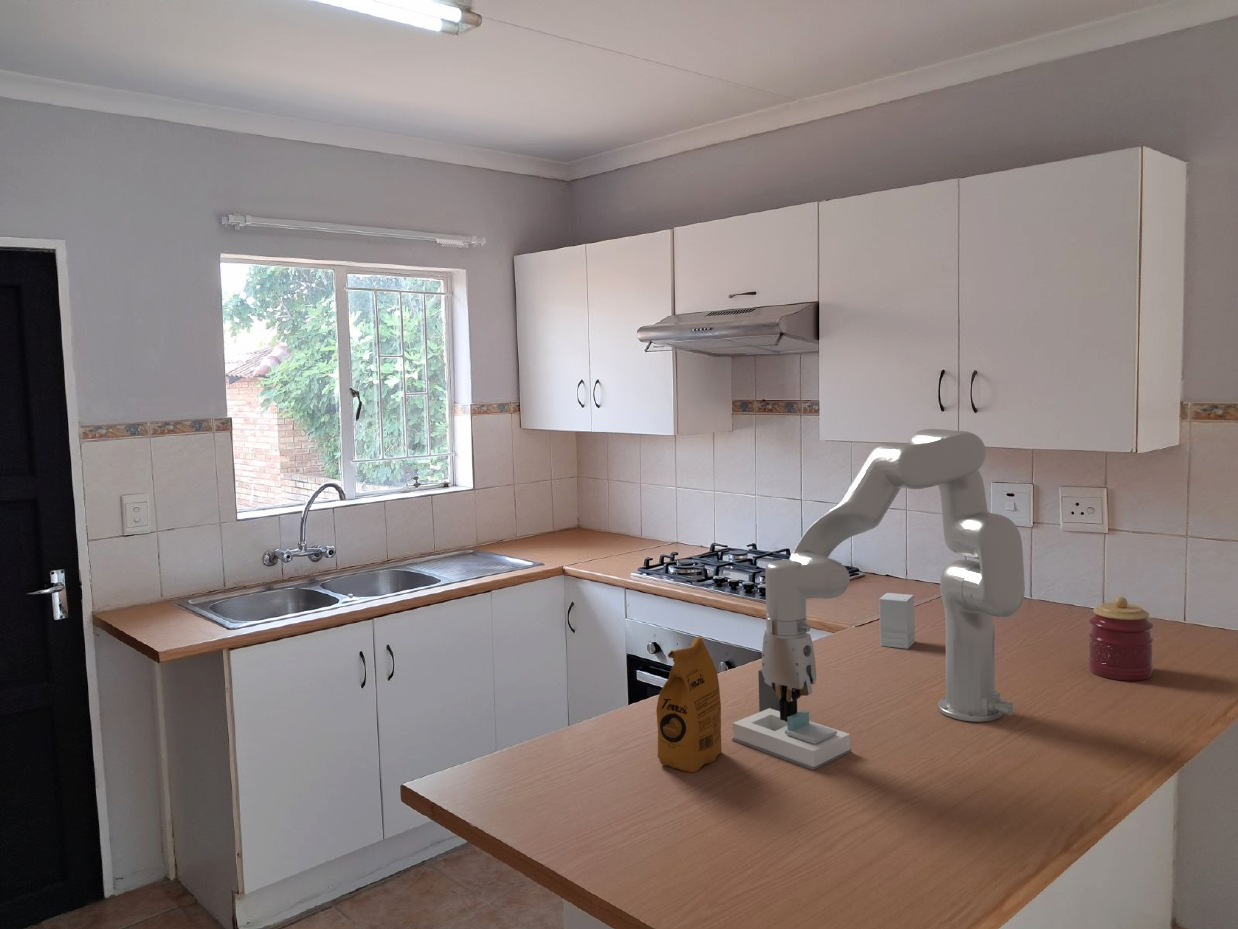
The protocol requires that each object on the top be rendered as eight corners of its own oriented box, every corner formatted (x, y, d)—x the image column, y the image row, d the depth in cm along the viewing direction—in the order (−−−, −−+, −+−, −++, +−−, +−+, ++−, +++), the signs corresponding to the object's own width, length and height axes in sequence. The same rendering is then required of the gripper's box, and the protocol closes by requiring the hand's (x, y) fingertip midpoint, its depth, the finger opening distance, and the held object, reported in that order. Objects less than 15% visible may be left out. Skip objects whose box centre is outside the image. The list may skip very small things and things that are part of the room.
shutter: (836, 734, 172) (836, 718, 171) (815, 744, 168) (814, 728, 167) (806, 724, 177) (806, 709, 177) (784, 733, 173) (784, 718, 173)
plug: (790, 717, 191) (789, 661, 190) (776, 723, 188) (775, 666, 187) (773, 711, 195) (772, 656, 193) (759, 717, 192) (758, 661, 191)
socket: (851, 751, 173) (850, 733, 172) (812, 770, 165) (812, 751, 165) (770, 724, 188) (770, 707, 187) (732, 740, 180) (731, 723, 180)
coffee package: (649, 764, 171) (645, 649, 169) (685, 742, 180) (682, 632, 178) (694, 777, 165) (690, 657, 163) (729, 752, 174) (726, 640, 172)
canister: (1139, 686, 201) (1141, 607, 199) (1078, 673, 211) (1079, 598, 209) (1161, 671, 210) (1162, 596, 208) (1101, 660, 219) (1102, 587, 218)
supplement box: (915, 642, 239) (915, 594, 238) (907, 649, 233) (907, 601, 232) (887, 638, 243) (886, 591, 242) (879, 646, 237) (878, 598, 236)
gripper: (831, 629, 171) (832, 724, 173) (769, 615, 182) (771, 704, 184) (805, 637, 166) (807, 735, 168) (743, 622, 178) (746, 714, 179)
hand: (788, 719), depth 176 cm, fingers closed
